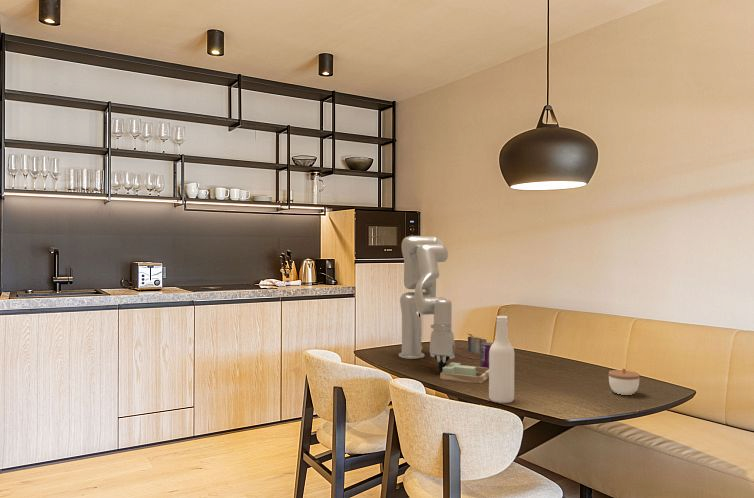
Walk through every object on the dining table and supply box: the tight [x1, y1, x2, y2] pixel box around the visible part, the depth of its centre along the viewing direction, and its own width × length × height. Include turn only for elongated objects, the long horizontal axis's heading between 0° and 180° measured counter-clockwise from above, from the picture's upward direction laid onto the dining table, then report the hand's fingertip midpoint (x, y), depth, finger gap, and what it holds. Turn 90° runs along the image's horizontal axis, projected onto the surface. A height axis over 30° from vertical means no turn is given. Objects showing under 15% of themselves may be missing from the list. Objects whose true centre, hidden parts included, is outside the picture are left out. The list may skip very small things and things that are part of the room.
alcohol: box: [488, 315, 515, 404], centre depth 205 cm, size 9×9×30 cm
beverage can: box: [479, 342, 494, 368], centre depth 250 cm, size 7×7×12 cm
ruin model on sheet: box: [467, 333, 488, 355], centre depth 293 cm, size 11×3×10 cm, turn 32°
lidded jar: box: [608, 368, 641, 396], centre depth 214 cm, size 11×11×9 cm
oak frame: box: [439, 364, 489, 384], centre depth 240 cm, size 18×17×2 cm
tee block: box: [442, 362, 477, 376], centre depth 241 cm, size 12×12×4 cm
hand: (442, 371), depth 245 cm, fingers closed
